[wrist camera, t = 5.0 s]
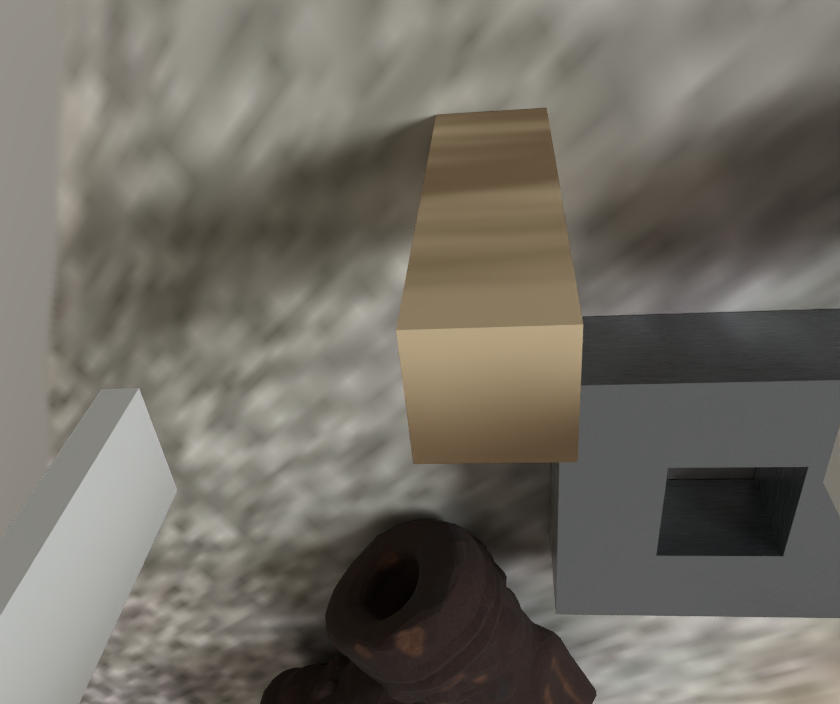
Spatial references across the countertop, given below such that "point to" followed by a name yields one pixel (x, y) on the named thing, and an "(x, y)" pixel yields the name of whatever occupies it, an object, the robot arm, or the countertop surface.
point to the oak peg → (491, 299)
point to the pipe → (432, 632)
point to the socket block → (702, 448)
